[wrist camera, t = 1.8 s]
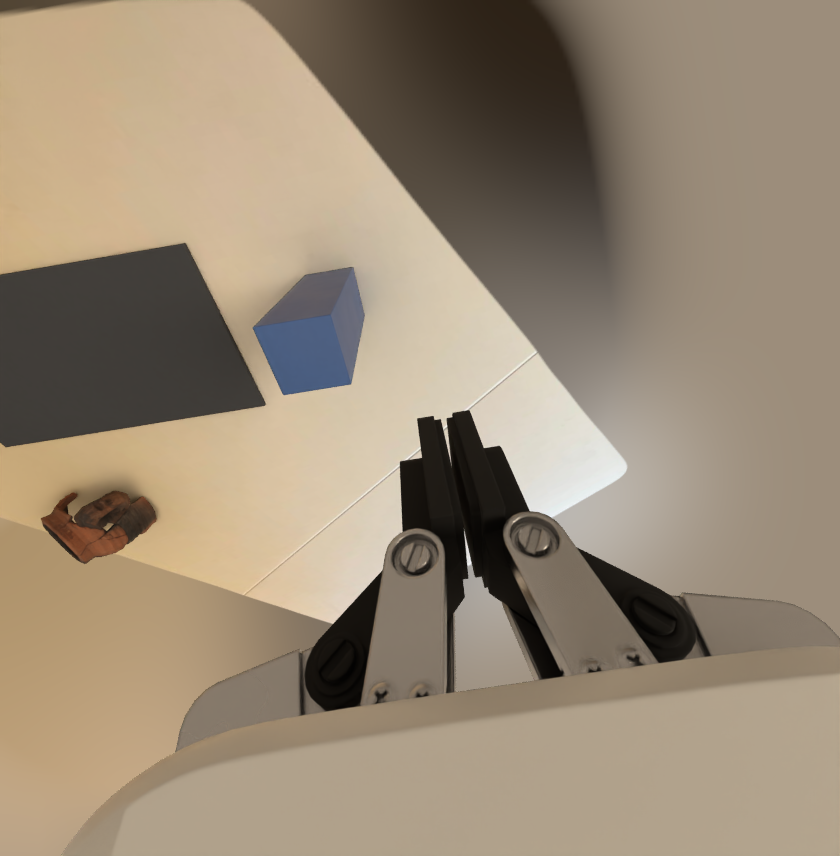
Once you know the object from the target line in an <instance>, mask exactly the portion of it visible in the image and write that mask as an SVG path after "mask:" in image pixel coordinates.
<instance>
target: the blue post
mask: <svg viewBox="0 0 840 856" xmlns="http://www.w3.org/2000/svg"><path fill="white" fill-rule="evenodd" d="M364 316H365V315H364V311H363V306H362V302H361V298H360V294H359V290H358V285H357V281H356V277H355V273H354V268H353V267H350V268H344V269H338V270H332V271H326V272H320V273H314V274H308V275H305V276H304V277H303V278H302V279H301V280H300V281H299V282H298V283H297V284H296V285H295V286H294V287H293V288H292V289H291V290H290V291H289V292H288V293H287V294H286V295H285V296H284V297H283V298H282V299H281V300H280V301H279V302H278V303H277V304H276V305H275V306H274V307H273V308H272V309H271V310H270V311H269V312H268V313H267V314H266V315H265V316H264V317H263V318H262V319H261V320H260V321H259V322H258V323H257V324H256V325H255V326H254V327H253V330H254V332H255V334H256V336H257V338H258V341H259V343H260V345H261V347H262V349H263V352H264V354H265V356H266V358H267V360H268V363H269V365H270V367H271V369H272V372H273V374H274V376H275V378H276V380H277V383H278V385H279V387H280V389H281V391H282V394H283V395H288V394H294V393H300V392H306V391H313V390H319V389H325V388H331V387H337V386H344V385H350V384H351V383H352V377H353V372H354V367H355V362H356V357H357V352H358V347H359V342H360V337H361V331H362V326H363V321H364Z"/></svg>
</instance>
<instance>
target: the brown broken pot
mask: <svg viewBox="0 0 840 856" xmlns="http://www.w3.org/2000/svg"><path fill="white" fill-rule="evenodd" d="M75 498H77V494H76V493H74V492H72V493H71V494H69V495H67V496H65V498H63V499H62V500H60V502H59V503H58V504H57V505H56V506H55V507H54V510H53V512H52V513H51V514H50V515H48V516H46V517H43V518H41V520H42V523H43V526H44V528H45V529H46V530H47V531H48V532H49V534H50V535H51V536H52V537H53V538H54V539H55V540H56V541H57V542H58V543H59V544H60V545H61V546H62V547H63V548H64V549H65V550H66V551H67V552H68V553H69V554H71V555H72V557H74V558H75V559H77V560H78V561H80V562H81V563H84V564H86V563H88V562H89V561H90V560H92V559H93V558H95V557H102V556H106V555H109V554H113V553H116V552H118V551H119V550H121V549H123V548H124V546H125V545H126V544H129V543H130V542H132V541H133V540H134V539H135V538H136V537H138V535H139V534H143V533H145V532H146V531H147V530H148V529H149V527H150V526H151V525H152V524H153V523H155V522H156V515H155V511H154V510H153V507H152V506H151V505H150V504H149V502H148V501H147V500H146V499H145V498H144V497H140V498H139V499H138V500H137V501H136V502H134V503H132V504H131V505H130V498H129V496H128V494H126V493H123V492H119V491H112V492H110V493H108V494H106V495H105V496H103V497H102V498H100V499H98V500H96V501H93V502H91V503H90V504H88V505H86V506H84V507H82V508H81V509H80V510H79V512H78V513H77V514H76V515H75V517H74V520H75V521H76V522H77V523H74V522H73V521H72V518H73V516H71V515H69V514H68V506H67V505H68V504H69V503H70V502H72V501H73V500H74V499H75ZM107 523H112V524H114V525H113V526H112V527H111V528H110V529H109V530H108V531H106V530H105V529H103V527H105V526H106V524H107Z"/></svg>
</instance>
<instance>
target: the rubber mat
mask: <svg viewBox="0 0 840 856" xmlns="http://www.w3.org/2000/svg"><path fill="white" fill-rule="evenodd" d="M260 406H265V402H264V400H263V398H262V396H261V394H260V392H259V390H258V388H257V386H256V384H255V382H254V380H253V378H252V376H251V374H250V372H249V370H248V368H247V366H246V364H245V362H244V360H243V358H242V356H241V354H240V352H239V350H238V348H237V346H236V344H235V342H234V340H233V338H232V336H231V334H230V332H229V330H228V328H227V326H226V324H225V322H224V320H223V318H222V316H221V314H220V312H219V310H218V308H217V306H216V304H215V302H214V300H213V298H212V296H211V294H210V292H209V290H208V288H207V286H206V284H205V282H204V280H203V278H202V276H201V274H200V272H199V270H198V268H197V266H196V264H195V262H194V260H193V257H192V255H191V253H190V251H189V249H188V247H187V245H186V244H185V243H184V244H178V245H173V246H167V247H161V248H155V249H149V250H143V251H137V252H131V253H126V254H120V255H114V256H108V257H102V258H96V259H90V260H84V261H79V262H73V263H67V264H61V265H55V266H49V267H43V268H37V269H32V270H26V271H20V272H14V273H8V274H2V275H0V443H2V444H3V445H4V446H5V447H10V446H16V445H23V444H29V443H35V442H41V441H48V440H54V439H60V438H66V437H73V436H79V435H85V434H91V433H98V432H104V431H110V430H116V429H123V428H129V427H135V426H141V425H148V424H154V423H160V422H166V421H173V420H179V419H185V418H191V417H198V416H204V415H210V414H216V413H223V412H229V411H235V410H241V409H248V408H254V407H260Z"/></svg>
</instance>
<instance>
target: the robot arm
mask: <svg viewBox="0 0 840 856" xmlns="http://www.w3.org/2000/svg"><path fill="white" fill-rule="evenodd" d="M452 416H453V417H452V418H447V426H448V436H449V445H450V454H451V462H450V457H449V453H448V449H447V444H446V440H445V436H444V431H443V427H442V423H441V419H439V420H434V416H430V417H424V418H417V421H418V429H419V437H420V445H421V452H422V458H419V459H412V460H406V461H400V479H401V503H402V527H403V532H402V533H400V534H399V535H397V536H396V537H395V538H394V539H393V540H392V541H391V543H390V544H389V546H388V548H387V551H386V554H385V559H384V565H383V570H382V571H381V573H380V574H379V575H378V576H377V577H376V578H375V579H374V580H373V581H372V582H371V583H370V585H369V586H368V587H367V588H366V589H365V590H364V591H363V592H362V593H361V594H360V595H359V597H358V598H357V599H356V600H355V601H354V602H353V603H352V604H351V605H350V606H349V607H348V608H347V610H346V611H345V612H344V613H343V614H342V615H341V616H340V617H339V618H338V619H337V620H336V622H335V623H334V624H333V625H332V626H331V627H330V628H329V629H328V631H326V633H325V634H324V635H323V636H322V637H321V638H320V639H319V640H318V642H317V643H316V644H315V646H314V647H312V648H309V649H307V650H305V651H301V650H300V649H297V650H295V651H292V652H290V653H288V654H285V655H283V656H281V657H278V658H276V659H273V660H271V661H268V662H266V663H264V664H261V665H259V666H256V667H254V668H252V669H249V670H247V671H244V672H242V673H239V674H237V675H235V676H232V677H230V678H228V679H225V680H223V681H220V682H218V683H216V684H214V685H213V686H211V687H209V688H208V689H206V690H205V691H204V692H203V693H202V694H201V695H200V696H199V697H198V698H197V699H196V700H195V701H194V703H193V704H192V706H191V707H190V709H189V711H188V712H187V714H186V715H185V718H184V721H183V724H182V727H181V729H180V733H179V737H178V743H177V747H176V752H175V753H173V754H172V755H170V756H168V757H166V758H164V759H162V760H160V761H159V762H157V763H156V764H154V765H153V766H152V767H150V768H149V769H147V770H145V771H144V772H143V773H141V774H139V775H138V776H137V777H135V778H134V779H132V780H131V781H130V782H129V783H127V784H126V785H125V786H124V787H123V788H121V789H120V790H119V791H117V792H116V793H115V794H114V795H113V796H111V797H110V798H109V799H108V800H107V801H106V802H105V803H104V804H103V805H102V806H101V807H100V808H99V809H98V810H96V811H95V813H94V814H93V815H92V816H91V817H90V818H89V819H88V820H87V822H86V823H85V824H84V825H83V826H82V828H81V829H80V830H79V831H78V833H77V834H76V835H75V837H74V838H73V839H72V840H71V842H70V843H69V844H68V846H67V847H66V849H65V850H64V852H63V853H62V854H61V856H840V638H839V636H837V634H835V632H834V631H833V630H832V629H831V628H830V627H829V626H828V625H827V624H826V623H825V622H823V621H822V620H820V619H819V618H817V617H816V616H815V615H813V614H812V613H810V612H808V611H806V610H804V609H802V608H800V607H798V606H796V605H793V604H789V603H785V602H781V601H773V600H762V599H751V598H738V597H727V596H716V595H704V594H692V593H681V595H680V596H671V595H669V594H667V593H665V592H664V591H662V590H661V589H659V588H657V587H655V586H653V585H651V584H649V583H647V582H644V581H643V580H641V579H639V578H637V577H635V576H633V575H631V574H629V573H627V572H625V571H623V570H621V569H619V568H617V567H615V566H613V565H611V564H609V563H607V562H605V561H603V560H601V559H599V558H597V557H595V556H592V555H591V554H589V553H587V552H585V551H583V550H581V549H579V548H577V547H576V546H575V545H574V544H573V542H572V541H571V539H570V538H569V536H568V535H567V534H566V532H565V531H564V530H563V528H562V527H561V526H560V525H559V524H558V523H557V522H556V521H555V520H554V519H552V518H551V517H549V516H547V515H545V514H542V513H539V512H531V511H529V509H528V506H527V504H526V502H525V500H524V497H523V495H522V493H521V491H520V488H519V486H518V484H517V482H516V479H515V477H514V475H513V473H512V470H511V468H510V466H509V463H508V461H507V459H506V457H505V454H504V452H503V450H502V448H501V447H500V446H496V447H489V448H483V445H482V442H481V440H480V437H479V434H478V432H477V429H476V426H475V424H474V421H473V418H472V416H471V413H470V411H469V410H468V411H462V412H455V413H453V414H452ZM451 464H452V466H451ZM464 531H465V535H466V540H467V544H468V548H469V553H470V557H471V562H472V566H473V571H474V575H475V577H481V576H482V579H483V583H484V587H485V588H486V587H488V589H489V593H490V594H491V595H493V596H494V597H495V598H497V599H498V600H500V601H501V602H502V605H503V608H504V610H505V613H506V615H507V617H508V620H509V622H510V625H511V627H512V629H513V632H514V634H515V636H516V639H517V641H518V643H519V646H520V648H521V650H522V652H523V655H524V657H525V660H526V662H527V664H528V667H529V669H530V671H531V674H532V676H533V679H534V681H530V682H523V683H516V684H509V685H502V686H495V687H488V688H481V689H474V690H467V691H460V692H456V664H455V662H456V661H455V614H454V612H455V610H456V609H457V607H458V606H459V605H460V603H461V602H462V600H463V599H464V597H465V595H464V587H463V579H468V570H467V559H466V548H465V537H464Z"/></svg>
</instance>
